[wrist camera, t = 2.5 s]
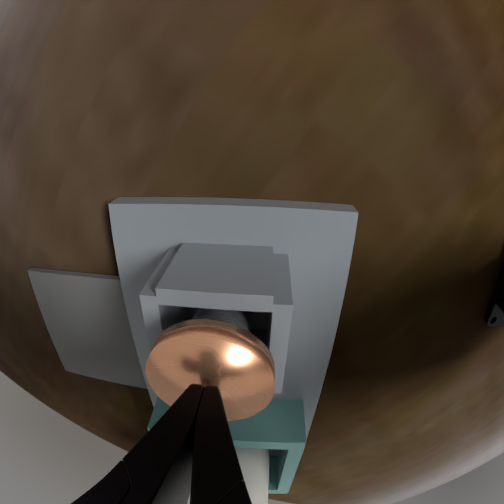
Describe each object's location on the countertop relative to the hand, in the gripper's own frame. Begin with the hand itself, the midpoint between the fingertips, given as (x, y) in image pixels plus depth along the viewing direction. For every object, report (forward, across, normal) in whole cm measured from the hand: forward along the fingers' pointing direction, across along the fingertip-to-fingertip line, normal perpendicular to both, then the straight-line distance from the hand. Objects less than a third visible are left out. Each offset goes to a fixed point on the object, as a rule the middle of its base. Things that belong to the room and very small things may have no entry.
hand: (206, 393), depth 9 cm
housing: (+6, 0, +6) cm, 9 cm away
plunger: (+5, 0, 0) cm, 5 cm away
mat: (+6, +8, +4) cm, 11 cm away
